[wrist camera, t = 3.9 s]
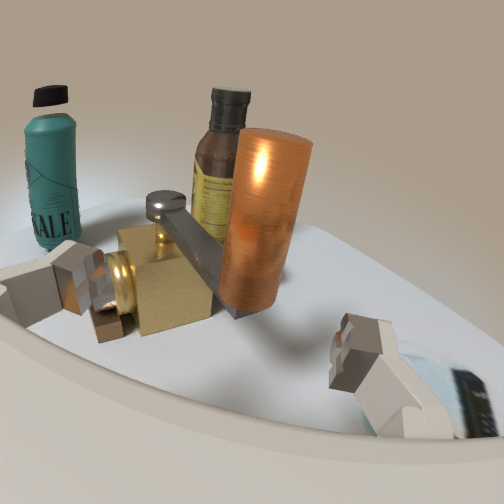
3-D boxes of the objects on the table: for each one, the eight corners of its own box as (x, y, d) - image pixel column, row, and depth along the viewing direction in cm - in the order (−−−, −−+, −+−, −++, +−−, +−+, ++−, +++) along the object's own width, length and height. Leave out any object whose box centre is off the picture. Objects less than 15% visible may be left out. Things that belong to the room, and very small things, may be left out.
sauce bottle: (205, 233, 44) (223, 85, 34) (246, 248, 42) (273, 93, 32) (177, 252, 39) (191, 84, 28) (221, 271, 37) (247, 91, 26)
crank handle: (141, 209, 25) (146, 98, 21) (176, 204, 27) (185, 98, 22) (233, 336, 15) (266, 144, 11) (284, 318, 17) (329, 147, 12)
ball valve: (243, 267, 38) (255, 192, 33) (272, 297, 34) (292, 217, 29) (87, 303, 28) (73, 216, 23) (100, 347, 24) (81, 253, 19)
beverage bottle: (71, 229, 39) (66, 82, 29) (93, 249, 36) (89, 82, 26) (31, 245, 34) (17, 89, 24) (48, 268, 31) (31, 89, 21)
